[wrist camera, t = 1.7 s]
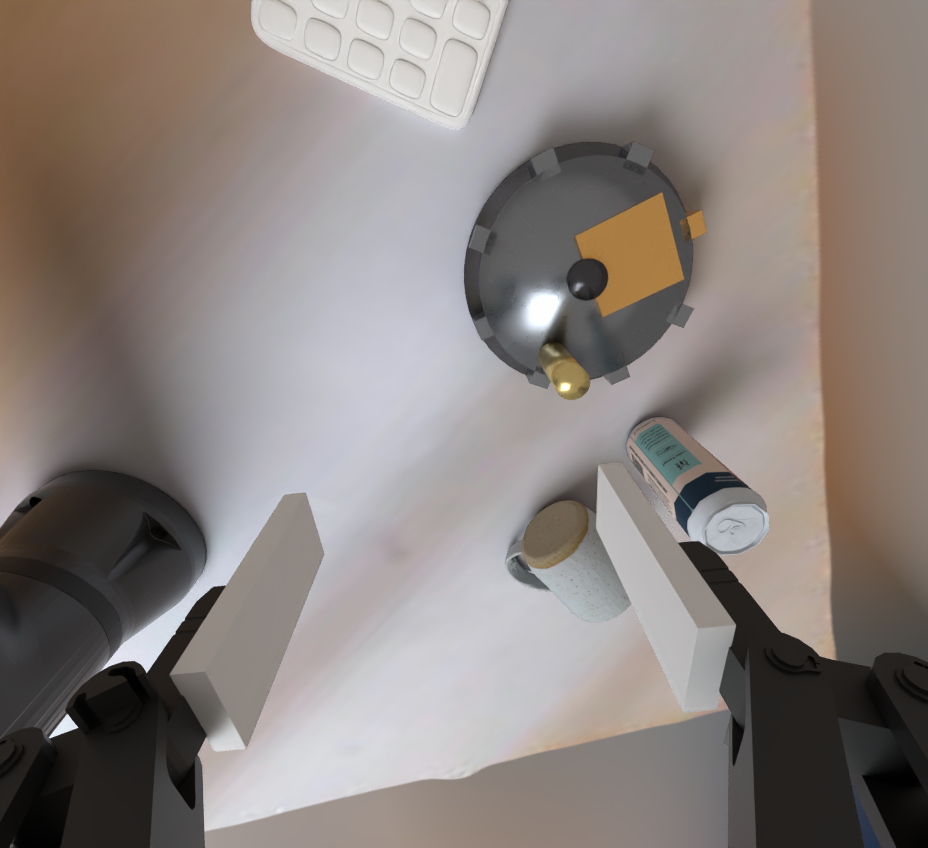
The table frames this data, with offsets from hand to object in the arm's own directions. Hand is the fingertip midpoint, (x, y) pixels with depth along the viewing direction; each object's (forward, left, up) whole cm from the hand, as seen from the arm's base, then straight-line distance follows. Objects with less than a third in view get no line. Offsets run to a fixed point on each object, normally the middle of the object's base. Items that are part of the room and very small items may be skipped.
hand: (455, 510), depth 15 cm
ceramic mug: (+15, -14, -20) cm, 29 cm away
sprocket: (+6, +9, -20) cm, 22 cm away
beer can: (+18, -1, -20) cm, 27 cm away
